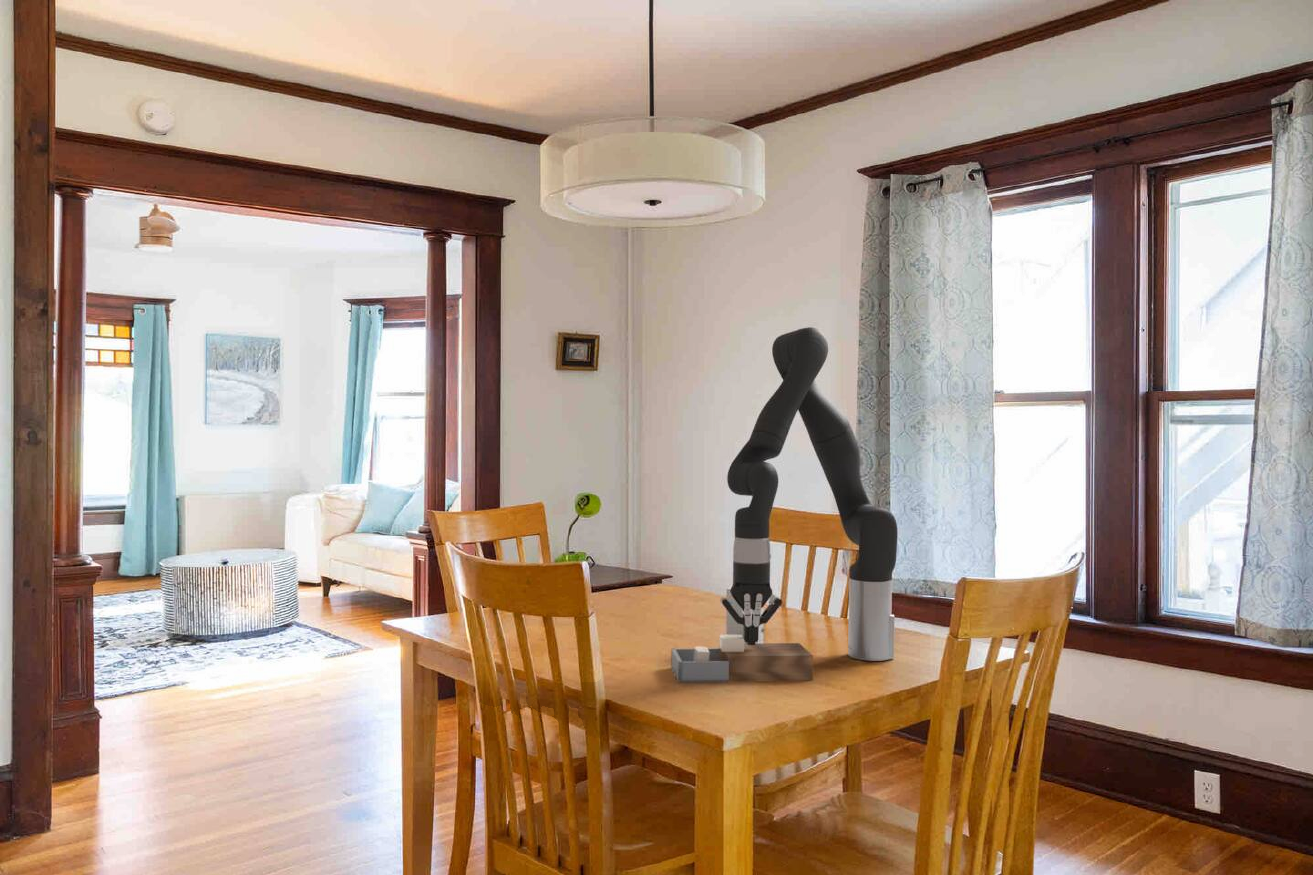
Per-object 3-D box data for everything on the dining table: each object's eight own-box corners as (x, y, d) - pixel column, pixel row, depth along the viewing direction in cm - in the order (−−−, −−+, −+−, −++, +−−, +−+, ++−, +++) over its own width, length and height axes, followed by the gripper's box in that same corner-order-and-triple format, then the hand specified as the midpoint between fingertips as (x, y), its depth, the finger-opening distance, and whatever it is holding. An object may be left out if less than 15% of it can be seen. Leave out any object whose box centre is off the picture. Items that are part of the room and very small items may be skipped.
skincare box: (749, 658, 208) (750, 590, 208) (724, 654, 211) (725, 587, 211) (764, 650, 215) (765, 585, 215) (740, 647, 218) (741, 582, 218)
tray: (718, 667, 200) (718, 647, 200) (728, 682, 188) (728, 661, 188) (671, 667, 199) (671, 648, 199) (678, 682, 187) (678, 662, 187)
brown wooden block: (798, 666, 201) (798, 642, 201) (812, 680, 190) (812, 655, 190) (718, 667, 199) (719, 643, 199) (728, 681, 188) (728, 656, 188)
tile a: (741, 646, 197) (741, 634, 197) (744, 651, 192) (744, 639, 192) (719, 646, 196) (719, 634, 196) (721, 651, 192) (722, 639, 192)
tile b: (706, 647, 196) (694, 646, 196) (709, 652, 191) (697, 651, 191) (704, 668, 196) (692, 667, 196) (707, 674, 191) (695, 673, 191)
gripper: (779, 556, 198) (778, 639, 199) (716, 556, 197) (715, 640, 197) (787, 561, 191) (786, 648, 191) (722, 562, 190) (721, 648, 190)
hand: (750, 644), depth 194 cm, fingers closed
